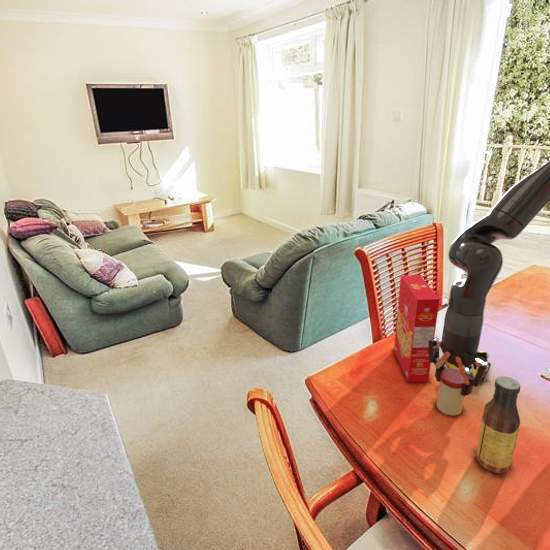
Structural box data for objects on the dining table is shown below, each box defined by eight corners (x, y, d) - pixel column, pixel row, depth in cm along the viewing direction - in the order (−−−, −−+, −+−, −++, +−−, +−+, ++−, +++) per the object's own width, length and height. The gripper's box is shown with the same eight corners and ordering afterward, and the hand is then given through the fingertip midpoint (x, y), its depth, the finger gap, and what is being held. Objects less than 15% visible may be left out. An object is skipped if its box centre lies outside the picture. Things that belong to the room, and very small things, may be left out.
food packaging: (394, 350, 114) (400, 275, 104) (411, 350, 114) (420, 274, 104) (408, 382, 101) (417, 299, 91) (428, 381, 100) (439, 298, 91)
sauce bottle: (516, 473, 74) (539, 394, 66) (486, 477, 74) (505, 397, 66) (496, 447, 80) (514, 371, 72) (467, 449, 80) (483, 374, 72)
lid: (463, 373, 90) (464, 368, 90) (470, 390, 85) (471, 385, 84) (437, 371, 92) (438, 366, 91) (442, 387, 86) (443, 382, 86)
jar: (458, 400, 93) (463, 370, 90) (464, 416, 88) (470, 385, 85) (434, 398, 95) (438, 368, 91) (439, 414, 90) (443, 383, 86)
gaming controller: (443, 380, 101) (485, 391, 96) (445, 363, 99) (489, 373, 94) (450, 350, 113) (487, 359, 108) (452, 335, 110) (491, 343, 106)
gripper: (505, 334, 79) (490, 397, 85) (443, 309, 90) (434, 366, 97) (485, 346, 75) (472, 411, 82) (423, 318, 86) (416, 377, 93)
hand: (452, 386), depth 89 cm, fingers closed on lid, 6 cm apart
